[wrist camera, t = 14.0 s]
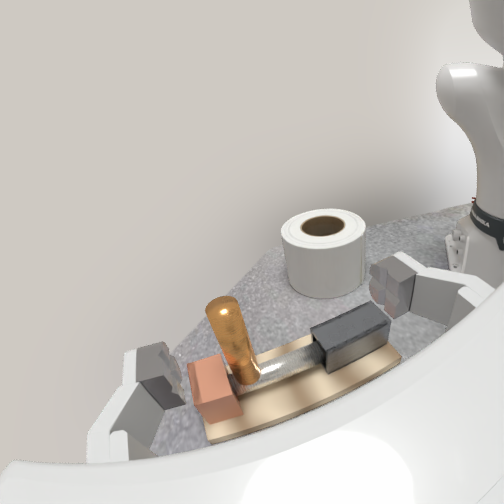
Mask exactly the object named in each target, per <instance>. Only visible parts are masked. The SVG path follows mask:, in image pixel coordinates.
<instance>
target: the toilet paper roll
mask: <svg viewBox="0 0 504 504" xmlns="http://www.w3.org/2000/svg"><path fill="white" fill-rule="evenodd" d="M281 236H282V242H283V248H284V254H285V260H286V266H287V272H288V278H289V282H290V284H291V286H292V287H293V288H294V289H295V290H296V291H297V292H299V293H300V294H303V295H305V296H308V297H312V298H318V299H330V298H336V297H340V296H343V295H346V294H348V293H350V292H352V291H354V290H355V289H356V288H357V287H359V286H360V284H361V285H362V284H363V281H364V277H365V250H366V227H365V222H364V221H363V219H362V218H361V217H359V216H358V215H356V214H354V213H352V212H349V211H345V210H340V209H318V210H312V211H308V212H304V213H301V214H299V215H296V216H294V217H293V218H291V219H289V220H288V221H287V222H286V223H285V224H284V225H283V226H282V229H281Z"/></svg>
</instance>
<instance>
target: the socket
mask: <svg viewBox="0 0 504 504" xmlns="http://www.w3.org/2000/svg"><path fill="white" fill-rule="evenodd" d="M187 368H188V374H189V380H190V385H191V391H192V396H193V401H194V406H195V407H196V408H197V410H198V411H199V412H200V413H201V415H202V416H203V417H204V418H205V420H206V421H207V422H208V423H209V424H214V423H218V422H221V421H224V420H228V419H231V418H234V417H238V416H241V415H244V414H243V411H242V408H241V405H240V402H239V399H238V396H235V394H234V392H233V390H232V388H231V385H230V382H229V378H228V375H229V374H230V373H229V371H228V369H227V367H226V365H225V363H224V361H223V358H222V356H221V354H217V355H214V356H211V357H208V358H205V359H201V360H198V361H195V362H192V363H188V364H187Z"/></svg>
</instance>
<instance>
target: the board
mask: <svg viewBox="0 0 504 504" xmlns="http://www.w3.org/2000/svg"><path fill="white" fill-rule="evenodd" d="M310 343H312V340H311V334H309V335H307V336H305V337H302V338H300V339H298V340H295V341H293V342H290V343H288V344H285V345H283V346H280V347H277V348H275V349H272V350H270V351H267V352H264V353H262V354H259V355H256V359H257V362H258V364H260V363H263V362H266V361H268V360H271V359H273V358H276V357H279V356H281V355H284V354H286V353H289V352H291V351H294V350H296V349H299V348H301V347H303V346H306V345H308V344H310ZM401 357H402V356H401V355H400V354H399V353H398V352H397V351H396V350H395V349H394V348H393V346H392V345H391V344H390V343H389V342H388V341H387V344H386V345H384V346H383V347H381V348H379V349H377V350H376V351H374V352H372V353H370V354H368V355H366V356H365V357H363V358H361V359H359V360H357V361H355V362H353V363H351V364H349V365H347V366H345V367H343V368H341V369H339V370H337V371H335V372H333V373H331V374H329V375H328V374H327V373H326V371H325V369H324V368H323V366H322V365H321V364H318V365H316V366H314V367H312V368H309V369H307V370H305V371H302V372H300V373H298V374H295V375H293V376H290V377H288V378H285V379H283V380H280V381H278V382H275V383H273V384H270V385H267V386H264V387H262V388H259V389H256V390H253V391H251V392H248V393H245V394H242V395H239V396H238V399H239V402H240V405H241V408H242V411H243V414H244V415H241V416H238V417H234V418H231V419H228V420H224V421H221V422H218V423H214V424H209V423H208V422H207V421H206V420H205V418H204V417H203V416H202V417H203V422H204V426H205V430H206V434H207V438H208V441H209V442H210V443H211V444H215V443H219V442H223V441H226V440H230V439H233V438H237V437H240V436H243V435H246V434H249V433H252V432H255V431H258V430H261V429H264V428H267V427H270V426H273V425H275V424H278V423H281V422H283V421H286V420H288V419H291V418H293V417H296V416H298V415H301V414H303V413H306V412H308V411H310V410H312V409H315V408H317V407H319V406H321V405H324V404H326V403H328V402H330V401H332V400H334V399H336V398H338V397H340V396H342V395H344V394H346V393H348V392H350V391H352V390H354V389H356V388H358V387H360V386H361V385H363V384H365V383H367V382H369V381H371V380H372V379H374V378H376V377H378V376H379V375H381V374H383V373H384V372H386V371H388V370H389V369H391V368H393V367H394V366H396V365H397V364H399V363H400V361H401ZM226 367H227V369H228V371H229V373H230V374H232V371H231V369H230V367H229V365H227V366H226Z"/></svg>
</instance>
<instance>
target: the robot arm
mask: <svg viewBox="0 0 504 504" xmlns="http://www.w3.org/2000/svg"><path fill="white" fill-rule="evenodd" d="M469 2H470V8H471V15H472V22H473V25H474V27H475V29H476V31H477V32H478V34H479V35H480V36H481V38H482V39H483V40H484V41H485V42H487V43H488V44H489V45H490V46H491V47H493V48H494V49H495V50H497V51H498V52H499V53H501V54H502V55H503V61H504V0H469ZM436 92H437V97H438V99H439V102H440V104H441V106H442V108H443V110H444V111H445V112H446V114H447V115H448V116H449V117H450V118H451V119H452V120H453V121H455V122H456V123H457V124H458V125H459V126H460V127H461V129H462V130H463V131H464V132H465V134H466V135H467V137H468V138H469V141H470V142H471V144H472V147H473V150H474V153H475V157H476V163H477V195H476V198H473V197H472V199H475V200H474V201H472V203H473V206H472V208H471V212H470V214H469V215H467V216H465V217H463V218H461V219H459V220H458V222H457V224H456V230H453V231H452V234H449V235H447V236H446V237H445V244H446V251H447V257H448V264H449V271H448V270H442V269H437V268H432V267H429V268H426V267H424V266H423V265H421V264H420V263H418V262H417V261H416V260H414V259H413V258H411V257H410V256H408V255H407V254H405V253H404V252H400V251H399V252H397V253H395V254H393V255H391V256H390V257H387V258H385V259H383V260H381V261H378V262H376V263H374V264H372V265H371V267H370V275H371V276H372V279H371V281H370V282H369V290H370V293H371V296H372V298H373V299H374V301H375V302H376V303H377V304H381V305H384V310H385V311H386V312H387V313H388V314H389V315H390V316H391V317H392V318H393V319H396V318H398V317H399V316H401V315H403V314H405V313H407V312H409V311H410V312H411V313H414V314H417V315H419V316H422V317H425V318H427V319H430V320H433V321H436V322H438V323H441V324H444V325H446V326H447V328H446V331H445V333H444V334H443V335H442V336H440V337H439V338H438V339H436V340H435V341H434V342H432V343H431V344H429V345H428V346H427V347H425V348H424V349H422V350H421V351H419V352H418V353H417V354H415V355H414V356H412V357H411V358H409V359H408V360H406V361H404V362H403V363H401V364H400V365H398V366H397V367H395V368H393V369H392V370H390V371H388V372H387V373H385V374H383V375H382V376H380V377H378V378H377V379H375V380H373V381H371V382H370V383H368V384H366V385H364V386H362V387H360V388H359V389H357V390H355V391H353V392H351V393H349V394H347V395H345V396H343V397H341V398H339V399H337V400H335V401H333V402H331V403H329V404H327V405H325V406H322V407H320V408H318V409H316V410H314V411H311V412H309V413H307V414H304V415H302V416H300V417H297V418H295V419H292V420H290V421H287V422H285V423H282V424H279V425H277V426H274V427H271V428H268V429H266V430H263V431H260V432H257V433H254V434H251V435H248V436H244V437H241V438H238V439H234V440H231V441H228V442H224V443H220V444H217V445H213V446H209V447H205V448H200V449H196V450H192V451H187V452H182V453H177V454H172V455H166V456H160V457H159V456H158V455H156V454H155V453H153V452H152V451H150V450H149V449H150V447H151V444H152V442H153V440H154V437H155V435H156V432H157V430H158V427H159V425H160V422H161V420H162V418H163V415H164V413H165V411H164V410H167V409H171V408H174V407H178V406H182V405H185V404H186V401H185V395H184V389H183V388H182V387H181V385H180V383H181V381H182V376H181V372H180V368H179V366H178V363H177V361H176V360H175V358H174V357H173V356H171V355H169V348H168V347H167V345H166V344H165V342H159V343H155V344H152V345H148V346H144V347H141V348H138V349H133V350H130V351H126V352H125V354H124V364H123V379H122V386H120V387H118V389H117V390H116V392H115V393H114V394H113V396H112V397H111V399H110V400H109V402H108V403H107V405H106V406H105V408H104V409H103V411H102V412H101V414H100V415H99V417H98V418H97V420H96V421H95V423H94V425H93V426H92V428H91V429H90V430H89V432H88V436H87V458H86V463H76V464H75V463H46V462H45V463H44V462H32V461H24V460H13V461H11V462H10V463H9V464H8V466H7V467H6V468H5V469H4V470H3V472H2V473H1V475H0V504H504V64H503V67H502V68H497V67H493V66H487V65H482V64H476V63H469V62H465V63H453V64H445V65H444V66H443V67H442V68H441V69H440V71H439V73H438V76H437V79H436Z"/></svg>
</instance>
